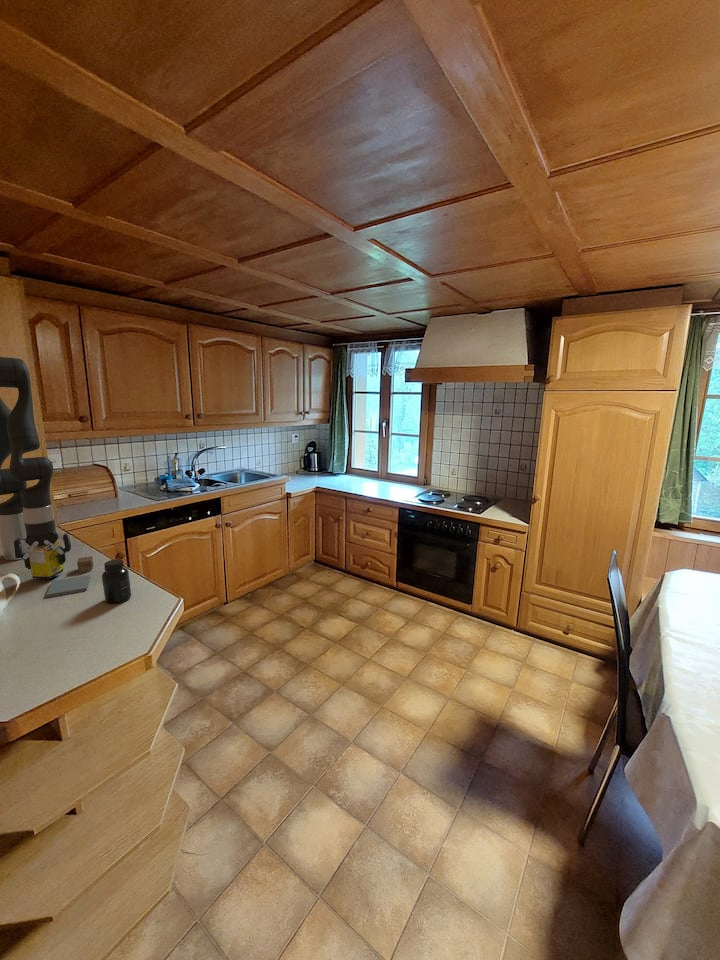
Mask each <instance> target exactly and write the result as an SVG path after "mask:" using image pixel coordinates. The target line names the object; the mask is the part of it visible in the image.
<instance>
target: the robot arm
mask: <svg viewBox="0 0 720 960" xmlns="http://www.w3.org/2000/svg"><path fill="white" fill-rule="evenodd" d="M31 382H32V381H31V375H30V371H29V367H28V365H27V363H26V362H25V360H24V359H21V358H16V357H7V356H6V357H5V356H0V388H10V389H11V388H12V389H17V391H18V396H17V397H18V398H17V400H16V403H15V404H14V407H13V409H10V408H9V406H7V404H6V403H5V402H4V401H3V399H2V398H1V397H0V496H4V495H5V496H6V495H12V496H11V497H10V498H9V499H7V500H5V501H3V502H0V544H1V549H2V555H3V560H5V561H18V560H23V563H24V567H25V568H26V569H28V570H31V566H30V560H29V556H30V554H31V553H32V552H33V548H34V547H36V546H42V545H51V548H52V549H53V550H55V551H57V552H58V553H59V559H60V565H64V564H65V563H66V561H67V557H66V553H67V552H70V551H71V549H72V544H71V539H70V534H69V532H65V533H61V534H58V532H57V529H56V521H55V513H54V508H53V506H52V500H51V494H50V493H51V490H50V489H51V482H52V477H53V474H54V473H53V472H54V464H53V461H51V460H50V459H49V458H48V457H46V456H36V457H23V455H24V454H26V453H31V452H34V451H38V449H40V447H41V442H40V438H39V434H38V431H37V428H36V422H35V416H34V403H33V392H32V383H31ZM9 456H10V460H9V468H2V466H3V465H4V464H3V463H4V461H5V460H6V459H7V458H8V457H9ZM37 480H38V481H37ZM28 481H30V482H31V481H37V483H36V484H35V485H32V486H29V487H28V485H27V482H28ZM58 539H60V540H61V541H62V542H63V544H64V547H63V546H62V545H61V544H60V545H57V546H56V545H54V544H55V542H56V541H59V540H58ZM29 546H31V547H30V548H29V550H28V547H29Z"/></svg>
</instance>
